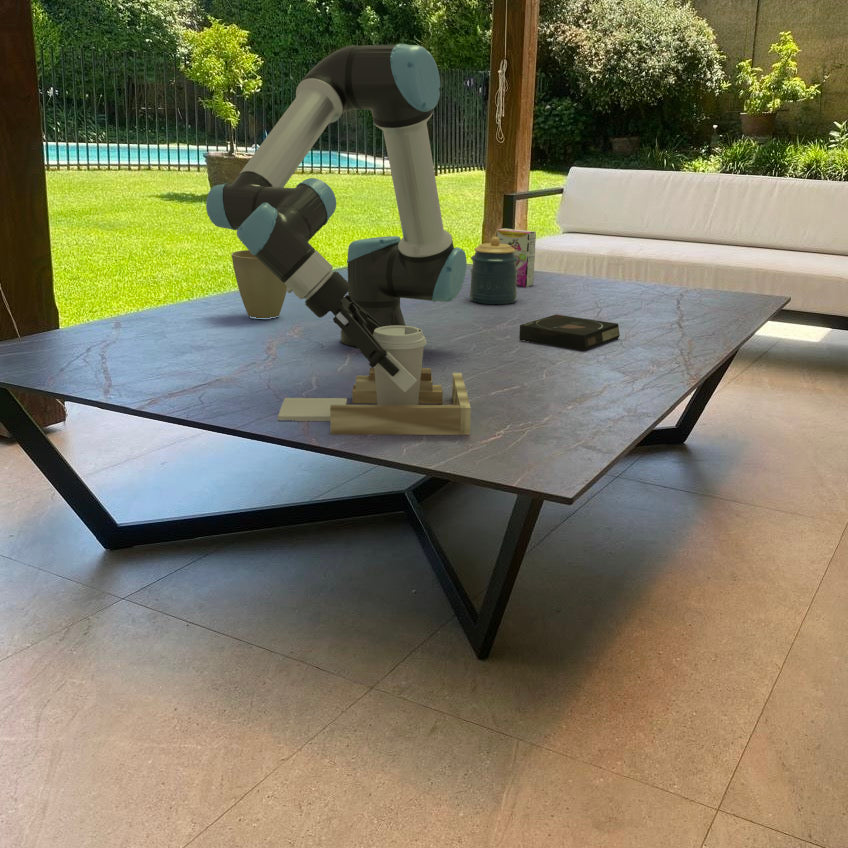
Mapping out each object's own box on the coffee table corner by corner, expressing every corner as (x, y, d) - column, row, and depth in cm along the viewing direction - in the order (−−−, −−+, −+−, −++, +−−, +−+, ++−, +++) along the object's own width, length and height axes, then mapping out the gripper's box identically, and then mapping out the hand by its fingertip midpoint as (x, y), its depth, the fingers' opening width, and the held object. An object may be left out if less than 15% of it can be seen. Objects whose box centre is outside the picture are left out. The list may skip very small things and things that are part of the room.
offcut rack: (338, 396, 177) (337, 372, 176) (460, 396, 178) (461, 373, 176) (330, 434, 156) (330, 407, 155) (470, 434, 157) (470, 408, 155)
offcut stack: (353, 396, 177) (353, 367, 176) (441, 396, 178) (441, 367, 176) (352, 403, 173) (352, 373, 171) (442, 403, 173) (442, 374, 172)
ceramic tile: (285, 402, 173) (284, 397, 173) (346, 402, 173) (346, 398, 173) (278, 420, 163) (277, 416, 162) (344, 421, 163) (343, 416, 163)
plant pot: (229, 323, 237) (226, 257, 232) (238, 311, 251) (236, 249, 246) (291, 323, 237) (289, 258, 232) (296, 311, 251) (295, 249, 246)
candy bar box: (493, 284, 297) (495, 229, 292) (501, 281, 301) (503, 228, 296) (526, 287, 291) (529, 232, 286) (534, 285, 295) (536, 230, 290)
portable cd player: (585, 353, 214) (586, 335, 212) (519, 342, 223) (519, 325, 222) (619, 340, 226) (620, 324, 225) (555, 330, 236) (556, 314, 235)
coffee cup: (413, 428, 160) (413, 338, 155) (360, 421, 163) (359, 333, 158) (434, 412, 168) (435, 327, 164) (383, 406, 171) (383, 322, 167)
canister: (503, 307, 261) (505, 240, 256) (461, 301, 268) (462, 237, 262) (524, 299, 272) (527, 236, 266) (483, 295, 278) (485, 232, 273)
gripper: (309, 288, 171) (394, 371, 176) (295, 316, 147) (394, 412, 152) (339, 258, 169) (423, 343, 174) (330, 282, 146) (428, 379, 151)
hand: (410, 375), depth 163 cm, fingers open, 13 cm apart
